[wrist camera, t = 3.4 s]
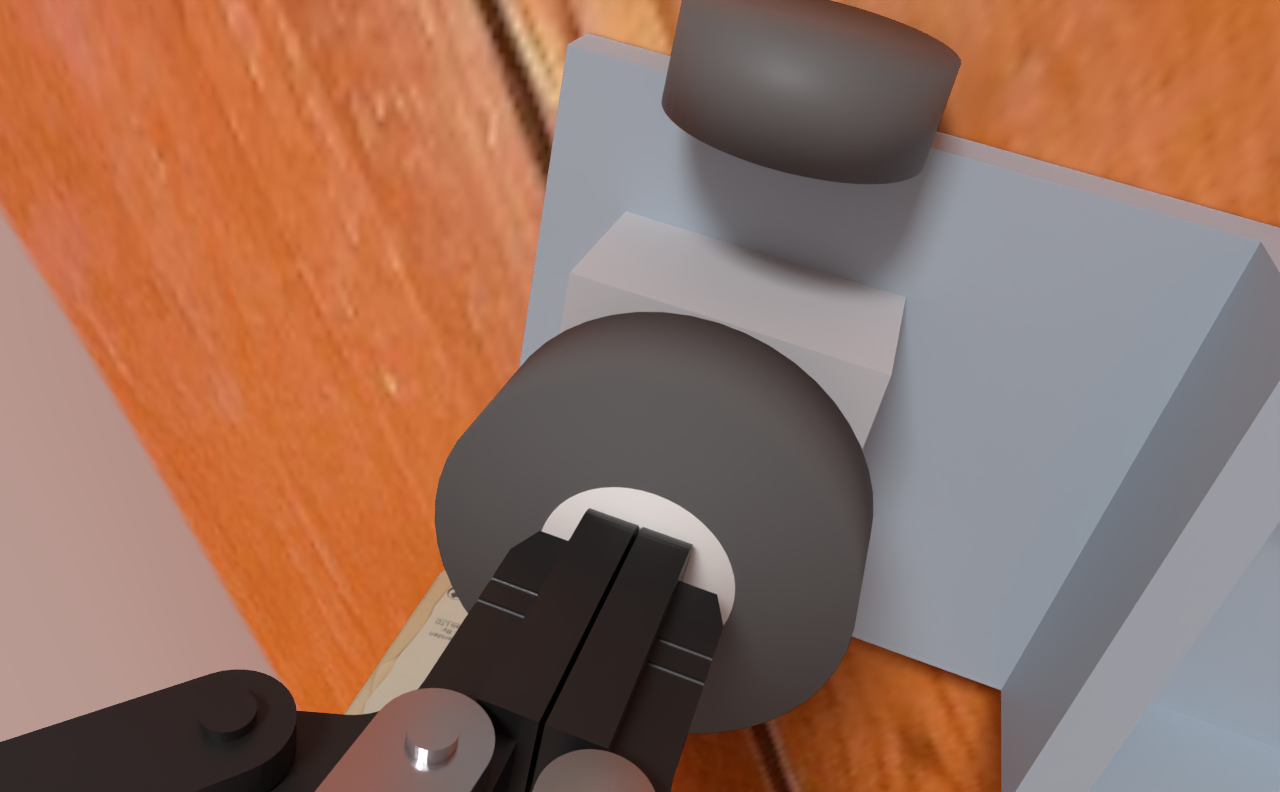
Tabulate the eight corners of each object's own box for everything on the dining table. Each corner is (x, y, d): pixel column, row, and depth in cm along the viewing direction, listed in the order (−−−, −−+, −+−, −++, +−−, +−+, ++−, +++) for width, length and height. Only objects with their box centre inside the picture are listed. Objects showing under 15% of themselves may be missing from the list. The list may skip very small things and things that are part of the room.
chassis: (1993, 310, 14) (2312, 472, 10) (1409, 861, 21) (1488, 1062, 17) (602, -60, 17) (503, -27, 13) (508, 533, 24) (428, 651, 20)
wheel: (934, 389, 13) (923, 476, 12) (807, 688, 17) (786, 790, 15) (518, 256, 14) (452, 318, 13) (475, 565, 18) (418, 648, 16)
